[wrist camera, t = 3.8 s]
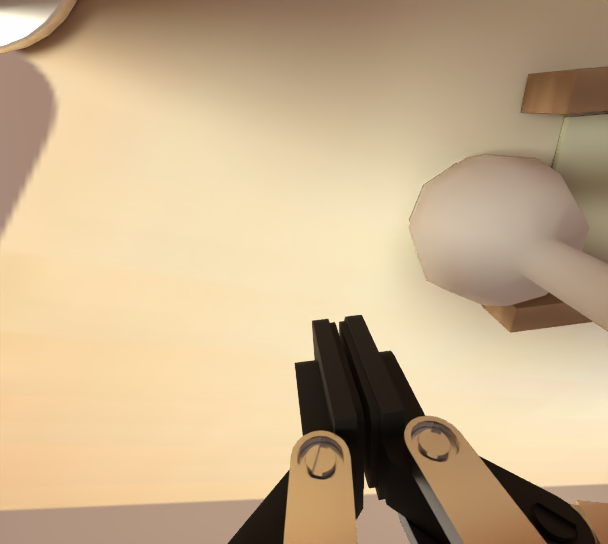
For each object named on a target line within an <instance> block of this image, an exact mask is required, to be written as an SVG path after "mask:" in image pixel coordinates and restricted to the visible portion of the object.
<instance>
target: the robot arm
mask: <svg viewBox="0 0 608 544" xmlns="http://www.w3.org/2000/svg"><path fill="white" fill-rule="evenodd" d="M76 2H77V0H0V53H5V52H9V51H14V50H18V49H22V48H26V47H29V46H30V45H32V44H34V43H36V42H38V41H40V40H42V39H43V38H45V37H47V36H49V35H50V34H51V33H52V32H53V31H54V30H55V29H56V28H57V27H58V26H59V25H60V24H61V23H62V22H63V21H64V20H65V19H66V18H67V16H68V15H69V13H70V12H71V10H72V8H73V7H74V5H75V3H76ZM312 329H313V343H314V356H315V360H314V361H306V362H298V363H295V370H296V379H297V388H298V397H299V406H300V415H301V424H302V432H303V437H302V438H300V439H299V440H298V441H297V443H296V444H295V446H294V447H293V450H292V454H291V461H290V470H289V471H288V472H287V473H286V474H285V476H284V477H283V478H282V479H281V480H280V482H279V483H278V484H277V485H276V486H275V488H274V489H273V490H272V491H271V492H270V494H269V495H268V496H267V497H266V498H265V500H264V501H263V502H262V503H261V505H260V506H259V507H258V508H257V509H256V510H255V512H254V513H253V514H252V515H251V516H250V517H249V519H248V520H247V521H246V522H245V524H244V525H243V526H242V527H241V528H240V529H239V531H238V532H237V533H236V534H235V536H234V537H233V538H232V539H231V540H230V541H229V543H228V544H358V542H357V529H356V519H357V518H358V516H359V514H360V513H361V511H362V509H363V489H364V473H365V477H366V480H367V484H368V487H369V488H376V492H377V495H378V499H379V500H382V499H385V500H386V504H387V505H388V506H390V507H391V508H392V509H394V510H395V511H397V512H398V516H399V519H400V522H401V525H402V527H403V529H404V531H405V533H406V535H407V537H408V540H409V542H410V544H608V503H599V502H589V501H578V500H577V502H576V503H575V505H574V504H568V503H567V502H565V501H564V500H562V499H561V498H559V497H557V496H555V495H554V494H552V493H550V492H548V491H546V490H544V489H542V488H540V487H538V486H536V485H534V484H532V483H530V482H528V481H526V480H525V479H523V478H521V477H519V476H517V475H515V474H513V473H511V472H509V471H507V470H505V469H503V468H501V467H499V466H497V465H495V464H494V463H492V462H490V461H488V460H486V459H484V458H482V457H480V456H478V454H477V453H476V452H475V451H474V449H473V448H472V447H471V445H470V444H469V443H468V442H467V440H466V439H465V438H464V436H463V435H462V434H461V433H460V432H459V431H458V430H457V429H456V428H455V427H454V426H453V425H452V424H450V423H449V422H447V421H446V420H443V419H441V418H438V417H434V416H425V414H424V412H423V410H422V408H421V406H420V404H419V403H418V401H417V399H416V397H415V395H414V393H413V391H412V389H411V387H410V385H409V383H408V381H407V379H406V377H405V375H404V373H403V371H402V369H401V368H400V366H399V364H398V362H397V360H396V358H395V356H394V354H393V353H392V352H391V351H384V352H378V349H377V347H376V345H375V343H374V341H373V338H372V336H371V334H370V332H369V330H368V327H367V325H366V323H365V321H364V319H363V317H362V315H356V316H347V317H345V321H342V322H339V333H338V330H337V327H336V324H335V322H333V323H329V320H328V319H322V320H314V321H312ZM339 335H340V336H339Z"/></svg>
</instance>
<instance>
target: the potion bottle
mask: <svg viewBox="0 0 608 544" xmlns="http://www.w3.org/2000/svg"><path fill="white" fill-rule="evenodd" d="M409 221H410V225H409V230H410V233H411V236H412V239H413V242H414V245H415V248H416V251H417V254H418V257H419V260H420V263H421V266H422V269H423V271H424V274H425V277H426V279H427V281H429V282H431V283H433V284H436V285H438V286H440V287H442V288H444V289H446V290H448V291H450V292H453V293H455V294H458V295H460V296H463V297H465V298H467V299H470V300H472V301H475V302H477V303H480V304H482V305H485V306H509V305H513V304H516V303H520V302H524V301H527V300H531V299H534V298H538V297H541V296H545V295H546V294H547V293H551V294H552V295H554V296H555V297H557V298H558V299H560V300H561V301H563V302H564V303H566V304H567V305H569V306H570V307H572V308H573V309H575V310H576V311H578V312H579V313H581V314H582V315H584V316H585V317H587V318H588V319H590V320H591V321H593V322H594V323H596V324H597V325H599V326H601V327H602V328H604V329H605V330H607V331H608V263H605V262H603V261H601V260H599V259H597V258H595V257H593V256H591V255H588V254H586V253H584V252H582V250H583V247H584V244H585V241H586V237H587V234H588V231H589V228H590V227H589V225H588V223H587V221H586V219H585V217H584V215H583V213H582V211H581V209H580V207H579V206H578V204H577V202H576V201H575V199H574V197H573V195H572V194H571V192H570V190H569V188H568V187H567V185H566V183H565V181H564V180H563V178H562V176H561V174H560V173H558V172H557V171H555V170H554V169H552V168H551V167H549V166H548V165H546V164H544V163H543V162H541V161H540V160H538V159H533V158H521V157H509V156H498V155H480V156H475V157H469V158H466V159H464V160H463V161H461V162H460V163H455V164H454V165H452V166H451V167H450V168H448V169H447V170H445V171H444V172H442V173H441V174H439V175H438V176H436V177H435V178H433V179H432V180H430V181H429V182H427V183H426V184H425V185H423V187H422V189H421V192H420V194H419V197H418V199H417V202H416V204H415V206H414V209H413V211H412V214H411V216H410V219H409Z"/></svg>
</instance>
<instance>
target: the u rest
mask: <svg viewBox="0 0 608 544" xmlns="http://www.w3.org/2000/svg"><path fill="white" fill-rule="evenodd" d="M607 110H608V67H598V68H586V69H574V70H565V71H555V72H546V73H536V74H528V78H527V83H526V88H525V93H524V98H523V103H522V108H521V112H526V113H552V114H573V113H584V112H596V111H607ZM552 169H554V170H555V171H557V172H558V173H560V174H561V176H562V178H563V180H564V181H565V183H566V185H567V187H568V188H569V190H570V192H571V194H572V195H573V197H574V199H575V201H576V202H577V204H578V206H579V207H580V209H581V211H582V213H583V215H584V217H585V219H586V221H587V223H588V225H589V227H590V228H589V231H588V234H587V237H586V241H585V244H584V247H583V250H582V252H584V253H586V254H588V255H591V256H593V257H595V258H597V259H599V260H601V261H603V262H605V263H608V113H606V114H595V115H583V116H572V117H565V118H564V122H563V126H562V130H561V134H560V138H559V142H558V146H557V150H556V154H555V157H554V161H553V165H552ZM482 306H483V307H484V308H485V309H486V310H487V311H488V312H489V313H490V314H491V315H492V316H493V317H494V318H495V319H497V320H498V321H499V322H500V323H501V324H502V325H503V326H504V327H505V328H506V329H507V330H508V331H509V332H518V331H525V330H533V329H541V328H548V327H556V326H564V325H572V324H579V323H587V322H593V321H591V320H590V319H588V318H587V317H585V316H584V315H582V314H581V313H579V312H578V311H576V310H575V309H573V308H572V307H570V306H569V305H567V304H566V303H564V302H563V301H561V300H560V299H558V298H557V297H555V296H554V295H552V294H551V293H547V294H546V295H545V296H541V297H538V298H534V299H531V300H527V301H524V302H520V303H516V304H513V305H509V306H485V305H482Z"/></svg>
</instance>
